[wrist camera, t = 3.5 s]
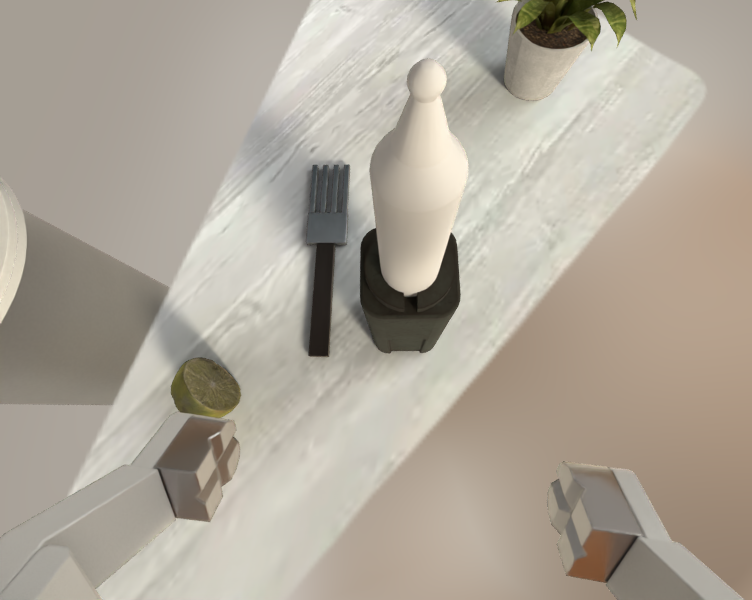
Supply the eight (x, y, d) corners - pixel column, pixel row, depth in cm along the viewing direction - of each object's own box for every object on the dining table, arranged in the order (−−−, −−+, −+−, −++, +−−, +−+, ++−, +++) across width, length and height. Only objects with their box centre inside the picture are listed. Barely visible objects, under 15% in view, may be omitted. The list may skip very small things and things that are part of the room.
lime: (204, 357, 32) (170, 348, 27) (257, 374, 31) (232, 367, 27) (182, 410, 31) (143, 410, 26) (236, 428, 30) (206, 432, 25)
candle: (433, 293, 32) (539, -33, 8) (436, 352, 31) (572, 166, 7) (374, 294, 33) (311, -20, 9) (374, 353, 31) (299, 175, 7)
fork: (298, 356, 32) (296, 355, 31) (313, 168, 36) (312, 164, 36) (341, 357, 31) (340, 356, 31) (350, 168, 36) (350, 164, 36)
